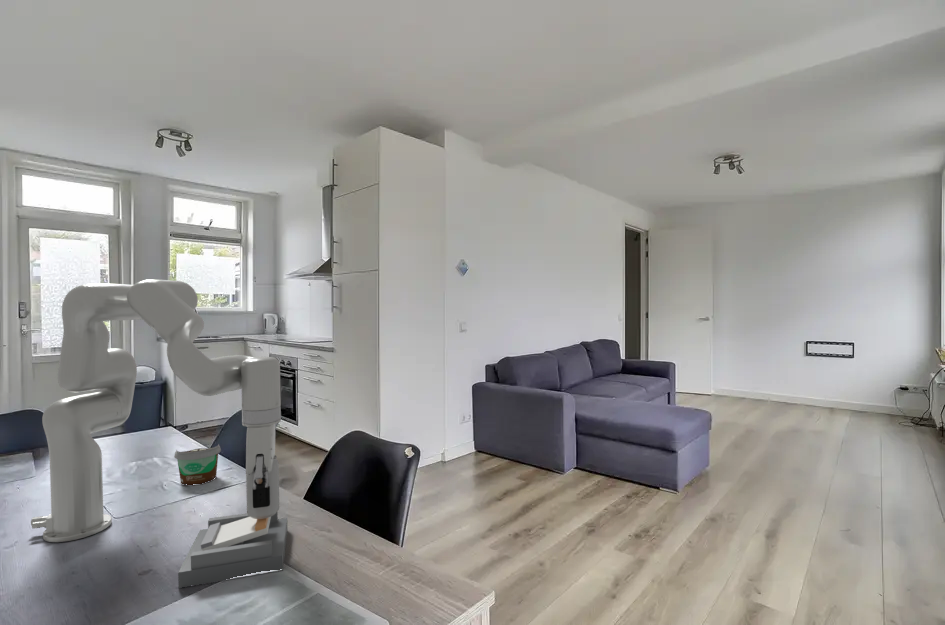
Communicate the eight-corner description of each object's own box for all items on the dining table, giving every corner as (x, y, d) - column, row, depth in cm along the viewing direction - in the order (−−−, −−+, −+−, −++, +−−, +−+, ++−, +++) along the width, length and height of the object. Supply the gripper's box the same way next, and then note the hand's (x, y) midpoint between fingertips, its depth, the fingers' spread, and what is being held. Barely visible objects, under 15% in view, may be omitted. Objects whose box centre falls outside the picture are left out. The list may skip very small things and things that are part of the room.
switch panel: (178, 588, 90) (177, 559, 90) (200, 543, 107) (199, 518, 107) (282, 570, 96) (281, 543, 95) (287, 530, 113) (286, 507, 113)
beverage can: (267, 521, 99) (267, 463, 99) (240, 519, 100) (239, 461, 100) (285, 508, 105) (284, 454, 105) (259, 506, 107) (258, 452, 106)
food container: (173, 490, 139) (172, 455, 139) (174, 483, 144) (174, 449, 144) (221, 482, 144) (220, 448, 144) (221, 475, 150) (220, 443, 150)
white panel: (203, 554, 95) (200, 545, 95) (212, 534, 104) (210, 525, 104) (267, 533, 99) (265, 524, 99) (271, 515, 107) (269, 506, 107)
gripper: (247, 408, 109) (249, 488, 110) (235, 427, 93) (237, 520, 93) (283, 406, 112) (284, 483, 112) (277, 423, 95) (279, 514, 96)
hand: (263, 499), depth 103 cm, fingers closed on beverage can, 6 cm apart
